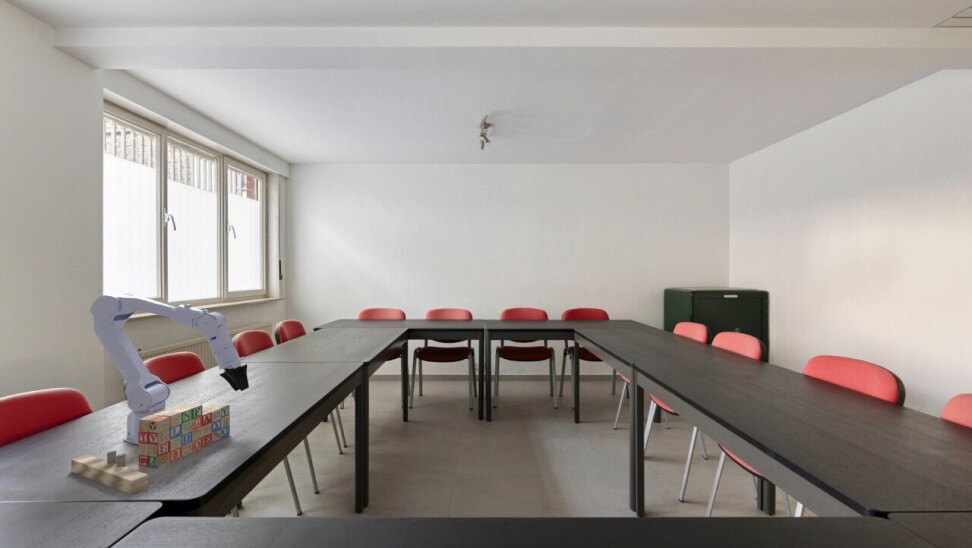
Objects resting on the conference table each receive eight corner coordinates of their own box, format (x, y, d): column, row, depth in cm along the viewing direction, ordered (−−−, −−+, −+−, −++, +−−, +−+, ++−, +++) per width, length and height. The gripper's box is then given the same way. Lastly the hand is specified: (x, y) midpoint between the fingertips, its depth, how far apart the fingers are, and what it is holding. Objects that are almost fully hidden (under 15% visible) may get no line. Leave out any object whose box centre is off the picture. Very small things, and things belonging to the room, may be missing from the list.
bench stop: (71, 471, 96) (71, 449, 96) (91, 464, 99) (91, 443, 99) (131, 494, 86) (132, 469, 86) (152, 486, 89) (152, 462, 89)
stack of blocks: (213, 433, 119) (213, 393, 120) (230, 435, 118) (230, 394, 118) (137, 466, 99) (138, 418, 99) (157, 469, 97) (157, 420, 97)
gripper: (243, 341, 117) (262, 382, 118) (232, 345, 127) (249, 383, 128) (217, 352, 112) (237, 394, 113) (207, 355, 122) (226, 394, 123)
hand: (242, 389), depth 120 cm, fingers open, 7 cm apart
